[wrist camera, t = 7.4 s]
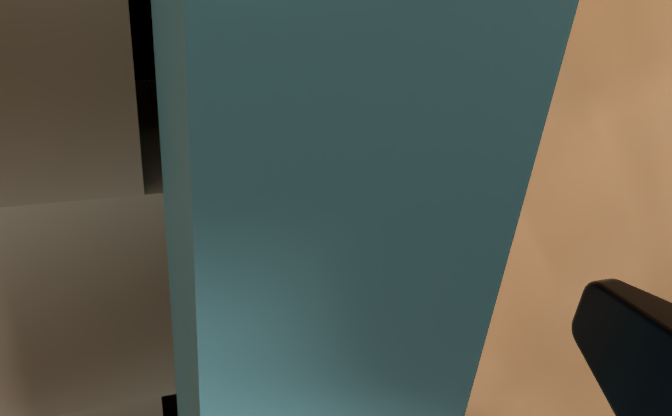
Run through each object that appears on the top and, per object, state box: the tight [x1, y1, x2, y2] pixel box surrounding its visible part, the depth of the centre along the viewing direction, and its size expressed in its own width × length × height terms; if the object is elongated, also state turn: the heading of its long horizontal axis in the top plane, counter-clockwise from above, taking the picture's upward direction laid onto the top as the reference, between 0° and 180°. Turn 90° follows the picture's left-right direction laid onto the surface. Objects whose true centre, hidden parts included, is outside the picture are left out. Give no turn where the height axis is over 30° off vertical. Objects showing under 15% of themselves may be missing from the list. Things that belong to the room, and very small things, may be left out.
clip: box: [151, 0, 579, 416], centre depth 10 cm, size 13×3×6 cm, turn 174°
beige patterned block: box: [0, 0, 178, 416], centre depth 11 cm, size 18×8×4 cm, turn 174°
